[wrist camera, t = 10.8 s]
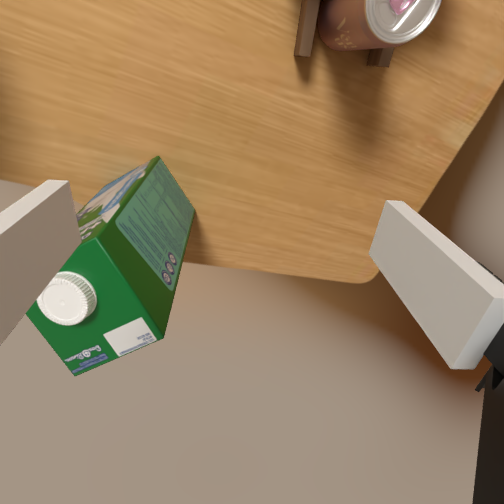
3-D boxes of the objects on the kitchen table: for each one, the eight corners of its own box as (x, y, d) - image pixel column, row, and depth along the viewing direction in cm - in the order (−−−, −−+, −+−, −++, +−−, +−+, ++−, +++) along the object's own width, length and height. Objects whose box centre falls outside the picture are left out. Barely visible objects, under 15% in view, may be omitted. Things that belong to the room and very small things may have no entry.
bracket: (293, 55, 37) (307, 54, 30) (309, -49, 32) (329, -77, 26) (376, 66, 38) (407, 68, 31) (402, -33, 33) (446, -57, 27)
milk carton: (159, 154, 42) (82, 253, 21) (196, 210, 46) (164, 340, 25) (104, 186, 44) (-19, 306, 22) (144, 237, 48) (74, 379, 27)
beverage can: (380, 19, 36) (462, -4, 23) (338, 63, 38) (391, 65, 25) (348, -31, 33) (420, -87, 21) (305, 19, 35) (346, -3, 23)
